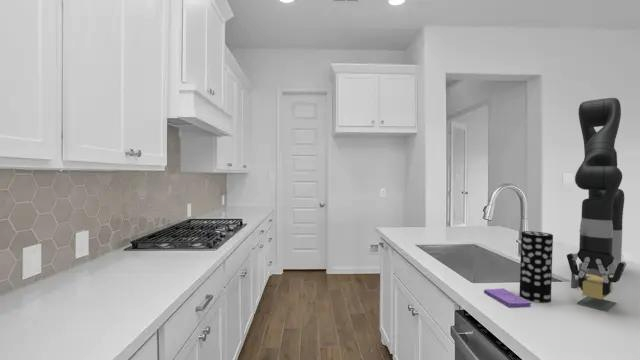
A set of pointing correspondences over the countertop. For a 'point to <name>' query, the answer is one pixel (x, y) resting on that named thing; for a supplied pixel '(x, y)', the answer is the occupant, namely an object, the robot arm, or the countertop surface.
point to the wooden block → (594, 287)
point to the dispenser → (589, 274)
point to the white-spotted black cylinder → (536, 266)
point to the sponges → (507, 298)
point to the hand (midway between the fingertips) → (593, 292)
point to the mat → (597, 303)
